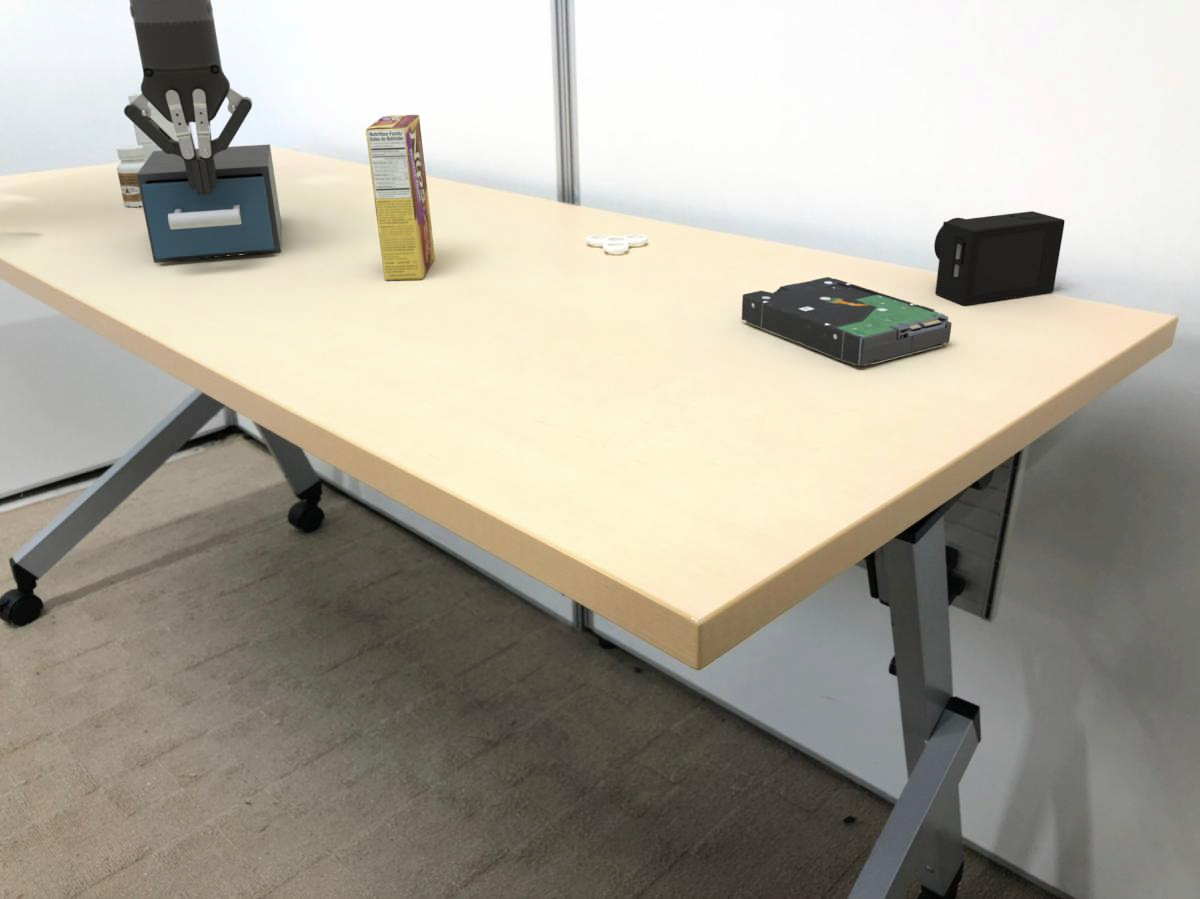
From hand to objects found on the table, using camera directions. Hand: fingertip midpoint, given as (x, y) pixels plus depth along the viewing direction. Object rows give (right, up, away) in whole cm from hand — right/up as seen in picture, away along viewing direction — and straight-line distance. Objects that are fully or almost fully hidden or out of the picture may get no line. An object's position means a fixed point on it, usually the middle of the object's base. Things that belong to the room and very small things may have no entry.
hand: (204, 193), depth 112 cm
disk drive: (+62, -18, -22) cm, 68 cm away
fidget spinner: (+44, -4, +7) cm, 45 cm away
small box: (-25, +15, +52) cm, 60 cm away
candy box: (+22, -8, 0) cm, 23 cm away
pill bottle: (-22, +7, +35) cm, 42 cm away
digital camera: (+79, -12, -12) cm, 81 cm away
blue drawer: (-2, -4, +9) cm, 10 cm away
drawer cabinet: (-3, -2, +14) cm, 14 cm away
